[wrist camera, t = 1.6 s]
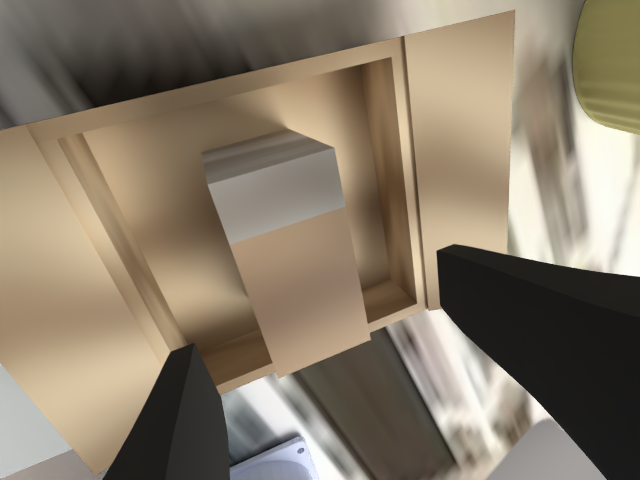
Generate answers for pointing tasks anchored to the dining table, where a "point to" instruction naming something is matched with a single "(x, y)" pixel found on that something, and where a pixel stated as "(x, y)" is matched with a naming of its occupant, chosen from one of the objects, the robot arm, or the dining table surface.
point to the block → (290, 244)
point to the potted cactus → (609, 63)
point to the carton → (205, 225)
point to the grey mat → (24, 430)
